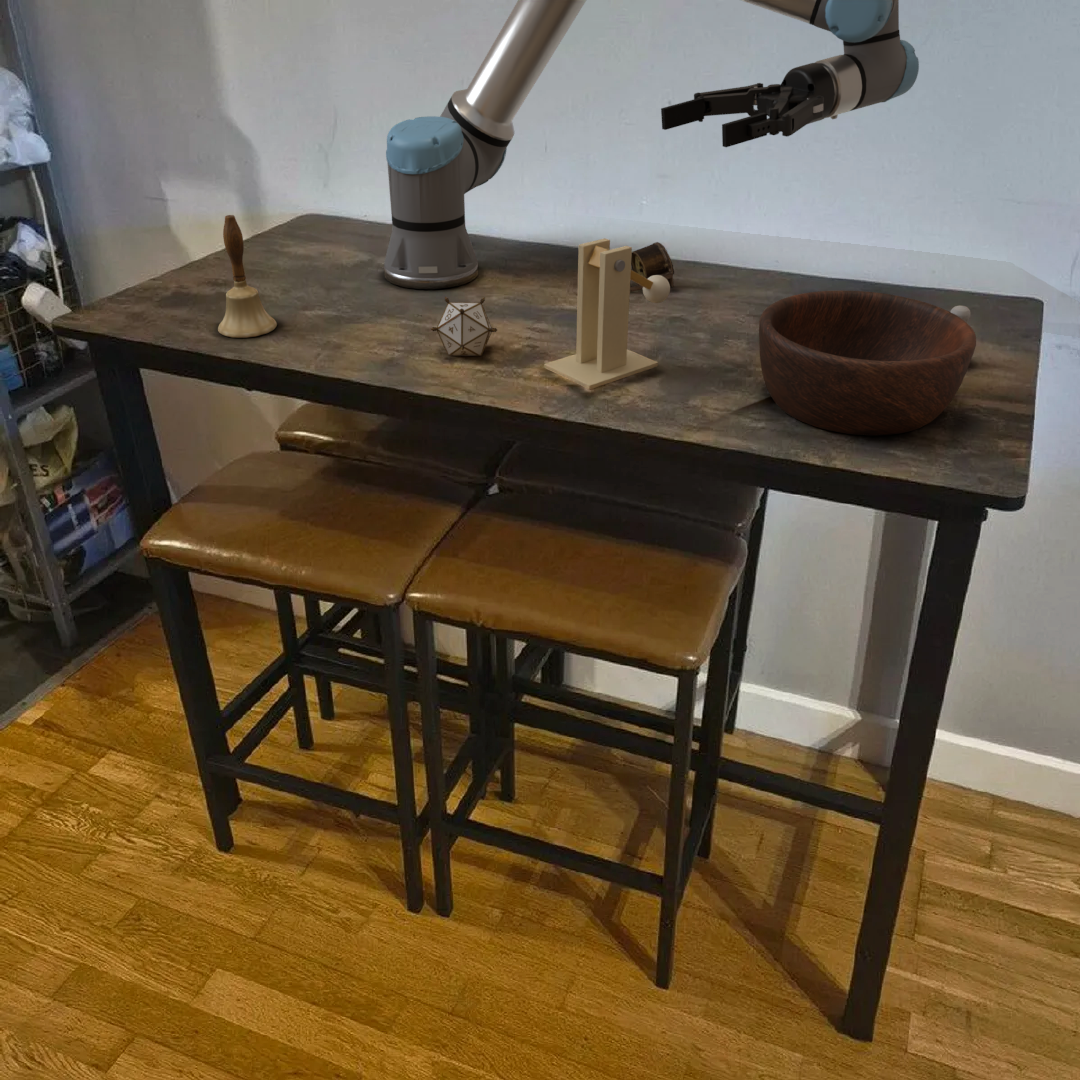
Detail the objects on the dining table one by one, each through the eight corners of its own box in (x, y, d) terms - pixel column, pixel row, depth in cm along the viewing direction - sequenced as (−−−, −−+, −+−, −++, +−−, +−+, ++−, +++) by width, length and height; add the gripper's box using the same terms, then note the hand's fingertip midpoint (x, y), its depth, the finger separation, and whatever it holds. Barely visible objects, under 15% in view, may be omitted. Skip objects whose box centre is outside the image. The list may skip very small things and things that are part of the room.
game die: (471, 388, 144) (465, 350, 135) (423, 355, 146) (414, 315, 137) (512, 342, 147) (508, 301, 137) (464, 310, 149) (457, 268, 139)
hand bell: (206, 333, 151) (186, 220, 143) (240, 314, 158) (223, 205, 149) (254, 341, 149) (237, 227, 140) (288, 322, 155) (273, 211, 147)
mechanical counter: (682, 267, 160) (679, 234, 167) (598, 259, 159) (598, 226, 166) (673, 308, 165) (670, 275, 172) (592, 300, 164) (592, 266, 172)
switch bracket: (611, 352, 146) (616, 229, 137) (657, 372, 140) (665, 245, 131) (543, 373, 139) (544, 246, 130) (589, 395, 133) (593, 264, 124)
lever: (649, 302, 142) (660, 277, 142) (668, 309, 140) (679, 284, 139) (582, 266, 132) (593, 239, 131) (601, 273, 130) (613, 245, 129)
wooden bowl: (714, 379, 138) (721, 303, 132) (873, 353, 145) (886, 279, 140) (826, 464, 118) (841, 378, 112) (1004, 427, 126) (1025, 345, 120)
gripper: (882, 134, 139) (752, 174, 132) (761, 106, 158) (642, 140, 151) (886, 73, 135) (752, 111, 128) (761, 52, 153) (638, 84, 146)
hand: (692, 127), depth 139 cm, fingers open, 13 cm apart
